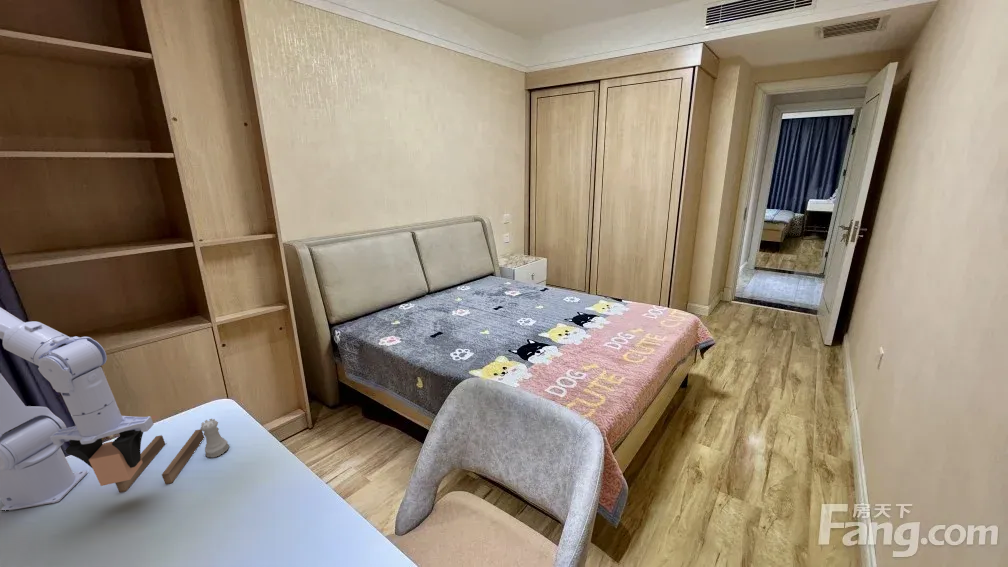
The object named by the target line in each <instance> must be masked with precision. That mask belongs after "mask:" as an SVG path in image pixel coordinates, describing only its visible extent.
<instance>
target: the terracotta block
mask: <svg viewBox="0 0 1008 567" xmlns="http://www.w3.org/2000/svg"><path fill="white" fill-rule="evenodd" d="M112 442H113V441H108V442H103V445H102V446H101V447H100V448H99V449H98V450H97V451H96V452H95V453H94V455H93V456H92V457H91V458H90V459H89V462H90V464H91V466H92V468H93V469H92V468H91V469H92V470H93V472H94V474H95V476H96V478H97V480H98V483H99V485H100V486H101V487H102V486H107V485H108V486H109V485H112V484H115V483H117V482H122V481H126V480H130V479H131V478H132V477H133V475H134V474H135V473H136V471H137V470H138V468H139V467H140V466H141V464H142V463H143V462H142V460H140V462H139V463H138V464H137V465H136V466H135V467H132V468H130V467H129V466H128V464H127V462H126V460H125V458H124V456H123V455H122V453H121V452H120V451H119V450H118V449H117V448H116V447H114V446H113V445H112Z"/></svg>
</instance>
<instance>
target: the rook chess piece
mask: <svg viewBox="0 0 1008 567" xmlns="http://www.w3.org/2000/svg"><path fill="white" fill-rule="evenodd" d="M218 425H219V422H218V421H216V420H215V418H209V420H208V419H206V420H204V422H202V423H201V426H200V428H199V430H201V431H202V432H203V435H204V438H205V440H206V441H205V442H206V444H205V448H204V452H205V456H206V457H208V458H210V459H211V458H212V459H213V458H218V457H220V456H222V455H224V454H225V453H226V452H227V450H229V446H230V444H228V441H227V440H226V439H225V438H224V437H223V436H222V435H221V434H220V431H219V430H220V428H219V427H218ZM225 451H226V452H225ZM224 452H225V453H224ZM223 453H224V454H223ZM221 454H222V455H221ZM217 456H218V457H217Z"/></svg>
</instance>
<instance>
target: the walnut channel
mask: <svg viewBox="0 0 1008 567" xmlns="http://www.w3.org/2000/svg"><path fill="white" fill-rule="evenodd" d="M203 438H204V439H205V435H204V431H201V430H200V429H196V430H194V432H193V433H192V435H191V436H190V437H189V438H188V440H187V441H186V442H185V444H184V445H182V448H181V449H180V450H179V452H178V453H177V454H175V457H174V458H173V459H172V460H171V462H169V464H168V466H166V468H165V469H164V471H163V472H162V473H161V476H162V479H163V482H164V484H165V485H170V484H173V483H174V481H175V480H176V478H177V477H178V475H179V474H180V473H181V471H182V470H183V468H184V467H185V465H186V464H187V463H188V461H190V459H191V457H192V456H193V455H192V454H195V452H196V450H197V449H198V448H199V446H200V445H201V443H202V442H203V441H204V439H203ZM202 440H203V441H202ZM201 441H202V442H201ZM200 442H201V443H200ZM199 444H200V445H199ZM165 445H166V442H165V439H164V437H163V435H162V434H161V435H156V436H155V437H154V438H153V439H152V440H151V442H149V444H148V445H147V446H146V447H145V448H144V449H143V450H142V452H140V454H141V460H142V462H143V463H142V464H141V466H140V467H139V468H138V470H137V471H136V473H135V474H134V475H133V477H132V478H131V479H130V480H126V481H122V482H117V483H114V484H115V486H116V488H117V490H118V492H119V493H122V492H127V491H128V490H129V489H130V487H131V486H132V485H133V484H134V483H135V481H136V480H137V479H138V478H139V477H140V475H142V473H143V472H144V470H145V469H146V468H147V467H148V466H149V465H150V464H151V463H152V461H153V460H154V459H155V457H156V456H157V454H159V452H160V451H161V450H162V449H163V448H164V447H165ZM197 447H198V448H197ZM196 448H197V449H196ZM194 451H195V452H194Z"/></svg>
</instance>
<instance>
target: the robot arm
mask: <svg viewBox="0 0 1008 567" xmlns="http://www.w3.org/2000/svg"><path fill="white" fill-rule="evenodd" d="M0 339H1V340H2V347H3V349H4V350H6V351H8V352H10V353H12V354H13V355H15V356H18V357H20V358H22V359H23V360H26V361H27V362H29V363H32V364H33V365H35V366H38V368H37V370H38V371H39V373H40V374H41V376H43V377H44V378H45V380H46V381H48V382H49V383H50V385H51V387H52V389H53V390H55V392H56V393H60V394H61V396H62V399H63V401H64V403H65V406H66V407H67V410H68V412H69V414H70V416H71V419H72V420H73V422H74V426H69V427H67V425H66V424H65V422H64V421H63V420H62V419H61V418H60V417H58V416H57V415H56V414H54V413H53V412H52V410H50V408H48V407H47V406H37V405H36V406H31V405H28V406H27V405H25V403H24V402H23V401H22V399H21V398H20V397H19V396H18V394H17V393H16V392H15V391H14V389H13V388H12V386H11V385H10V384H9V383H8V381H7V380H6V379H5V377H4V376H3V375H2V373H1V372H0V500H1V502H2V504H3V505H4V506H2V508H1V509H0V510H5V511H4V512H7V511H6V510H9V511H14V510H18V509H24V508H30V507H36V506H43V505H48V504H53V503H58V502H60V501H61V500H62V499H63V498H64V497H65V496H66V495H67V494H68V493H69V492H70V491H71V490H72V489H73V488H75V486H76V485H77V484H79V482H80V481H81V480H82V479H83V478H84V477H86V475H87V474H88V471H87V470H82V471H75V472H73V470H72V468H71V466H70V464H69V462H68V459H67V458H66V455H70V456H72V457H76V458H77V459H79V460H81V461H82V462H84V463H85V464H87V465H88V466H89V467H90V468H91V469H92V470H93V468H92V466H91V464H90V462H89V459H90V458H91V457H92V456H93V455H94V453H95V452H96V451H97V450H98V449H99V448H100V447H101V446H102V445H103V444H104V442H103V438H104V439H105V438H106V437H110V436H114V435H118V436H117V437H116V438H115V439H114V441H111V442H112V445H113V446H114V447H116V448H117V449H118V450H119V451H120V452H121V453H122V455H123V456H124V458H125V460H126V462H127V464H128V466H129V467H130V468H132V467H135V466H136V465H137V464H138V463H139V462H140V460H141V446H142V439H143V435H144V432H148V431H149V430H150V429H151V428H152V427H153V426H154V422H153V419H152V417H151V416H150V415H149V416H134V415H133V416H130V415H129V416H128V415H122V414H121V411H120V408H119V406H118V404H117V401H116V398H115V395H114V394H113V391H112V389H111V387H110V384H109V382H108V380H107V376H106V375H105V374H106V373H105V372H104V369H103V366H104V365H105V364H106V362H107V361H108V356H107V353H106V350H105V348H104V347H103V346H102V344H100V343H99V342H98V341H97V340H96V339H95V340H94V338H92V337H90V336H81V337H80V336H76V335H75V336H68V335H67V334H65V333H63V332H60V331H58V330H56V329H55V328H53V327H50V326H49V325H46V324H44V323H42V322H41V321H32V320H31V321H26V322H25V321H23V320H22V319H20V318H19V317H16V316H15V315H13V314H11V313H10V312H8V311H7V310H5V309H4V308H2V307H1V306H0ZM65 442H69V446H68V447H67V448H65V453H66V455H65V454H64V452H63V450H62V447H61V446H63V445H64V443H65Z"/></svg>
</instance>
